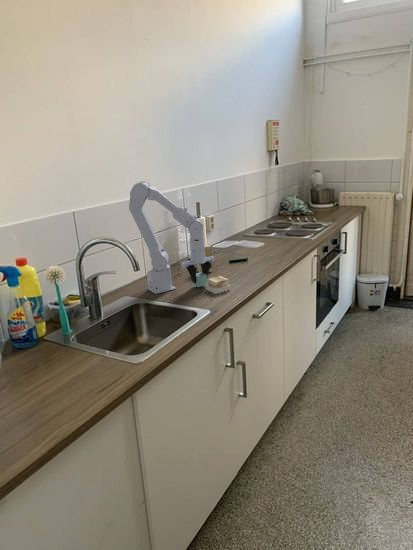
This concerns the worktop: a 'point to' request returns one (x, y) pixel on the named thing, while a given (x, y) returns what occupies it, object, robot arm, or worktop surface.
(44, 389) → the worktop surface
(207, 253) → the skincare box
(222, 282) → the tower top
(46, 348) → the worktop surface
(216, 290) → the tower base
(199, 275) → the teal cube
